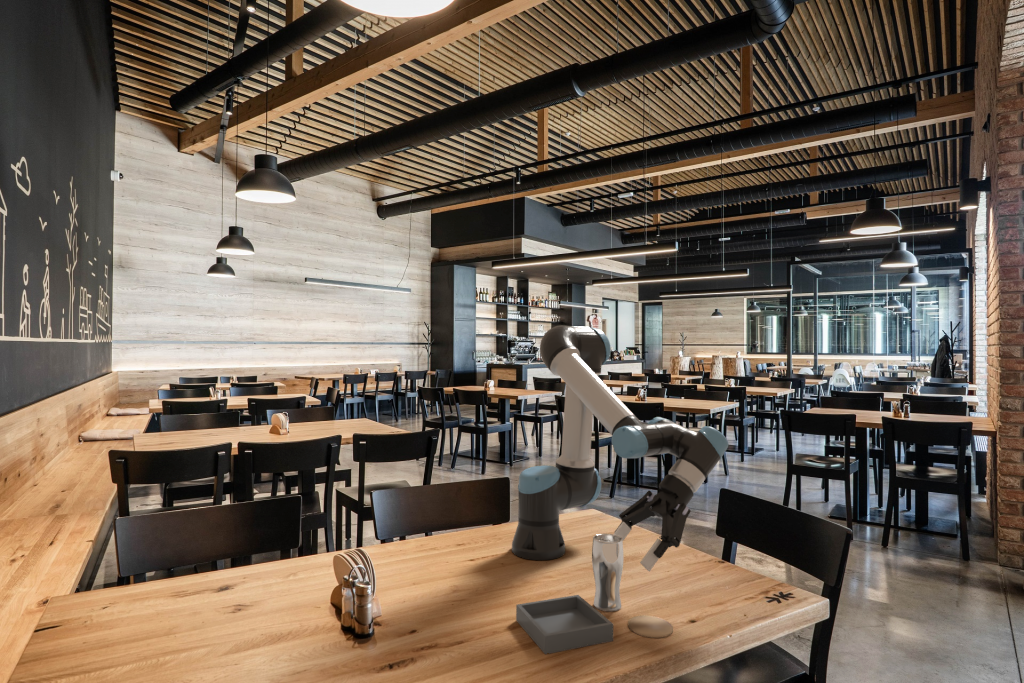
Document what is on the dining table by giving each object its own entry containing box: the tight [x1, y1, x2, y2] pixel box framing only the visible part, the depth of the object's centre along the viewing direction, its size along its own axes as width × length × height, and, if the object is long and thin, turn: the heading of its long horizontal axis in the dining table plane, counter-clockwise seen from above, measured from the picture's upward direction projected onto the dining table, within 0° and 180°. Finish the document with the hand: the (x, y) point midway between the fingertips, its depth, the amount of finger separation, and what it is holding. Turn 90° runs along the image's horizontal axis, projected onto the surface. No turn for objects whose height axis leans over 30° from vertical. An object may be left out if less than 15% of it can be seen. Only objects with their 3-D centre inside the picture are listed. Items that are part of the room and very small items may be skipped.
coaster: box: [627, 614, 674, 639], centre depth 118 cm, size 9×9×1 cm
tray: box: [515, 594, 614, 655], centre depth 116 cm, size 15×15×3 cm
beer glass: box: [591, 533, 624, 612], centre depth 128 cm, size 7×7×15 cm
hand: (626, 557), depth 128 cm, fingers open, 13 cm apart
